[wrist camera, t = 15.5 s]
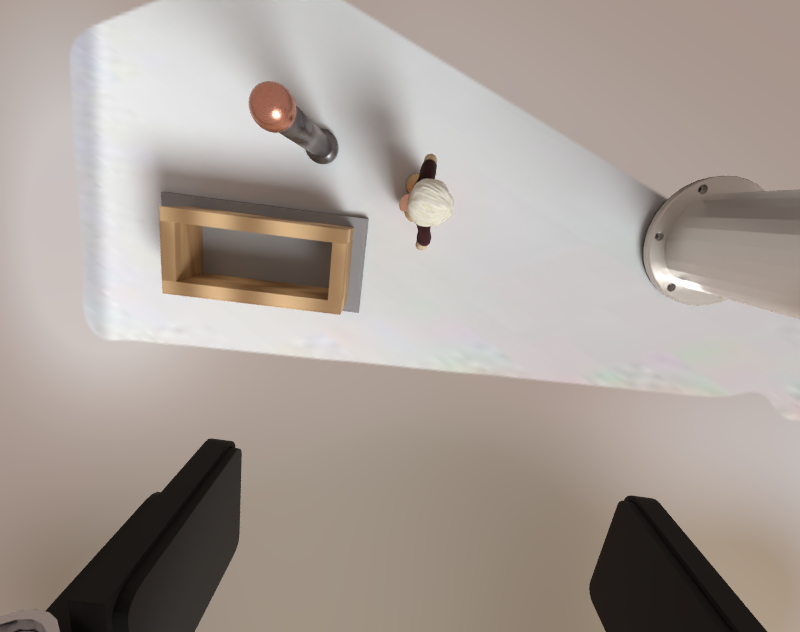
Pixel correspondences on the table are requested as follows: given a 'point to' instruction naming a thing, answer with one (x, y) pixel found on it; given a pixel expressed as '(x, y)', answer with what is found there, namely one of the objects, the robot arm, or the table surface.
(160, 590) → the robot arm
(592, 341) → the table surface
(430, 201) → the grandmother figurine
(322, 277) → the rubber mat
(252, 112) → the post stand
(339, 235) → the open wooden frame
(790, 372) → the table surface
